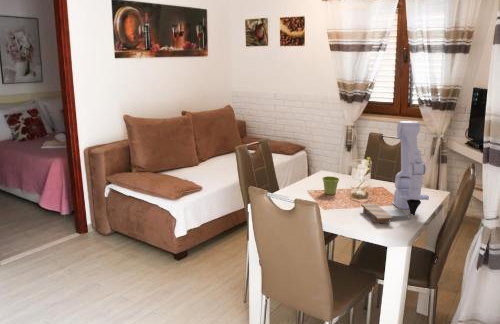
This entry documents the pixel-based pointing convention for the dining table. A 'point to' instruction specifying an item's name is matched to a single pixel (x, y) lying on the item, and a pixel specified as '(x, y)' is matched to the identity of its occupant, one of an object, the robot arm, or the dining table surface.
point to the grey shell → (397, 214)
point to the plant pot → (330, 184)
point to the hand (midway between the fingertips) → (412, 214)
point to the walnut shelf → (376, 213)
